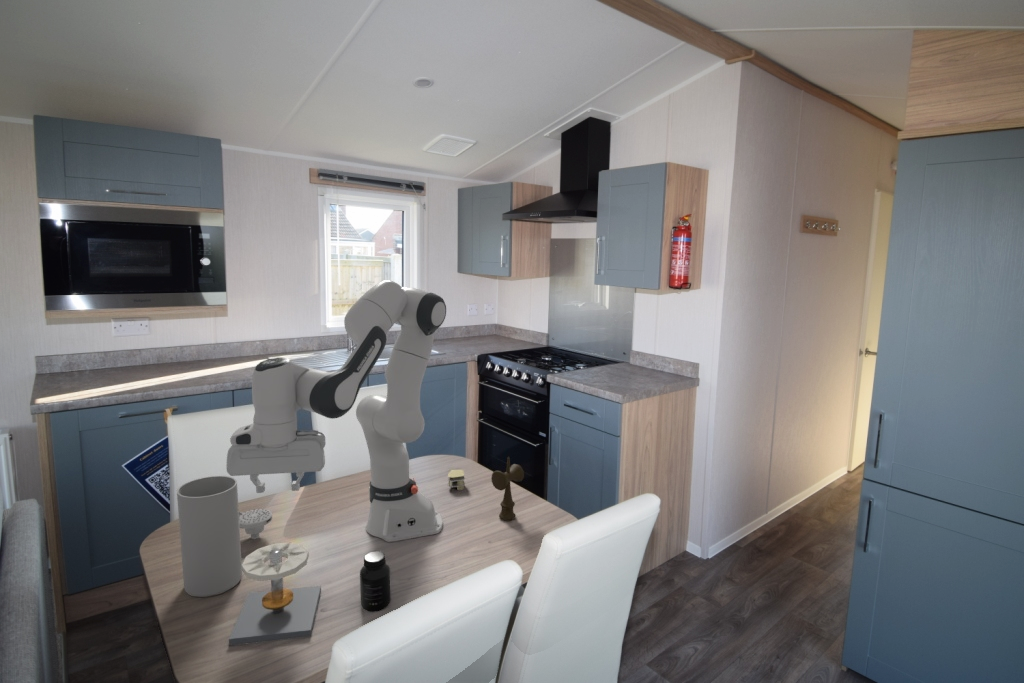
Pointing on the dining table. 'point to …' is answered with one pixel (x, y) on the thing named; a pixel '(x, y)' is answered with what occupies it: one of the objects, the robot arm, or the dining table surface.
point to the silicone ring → (262, 572)
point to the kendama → (507, 488)
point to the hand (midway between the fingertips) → (278, 490)
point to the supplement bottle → (375, 582)
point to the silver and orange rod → (277, 589)
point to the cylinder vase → (209, 535)
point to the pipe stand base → (276, 618)
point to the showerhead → (254, 521)
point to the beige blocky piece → (456, 479)
